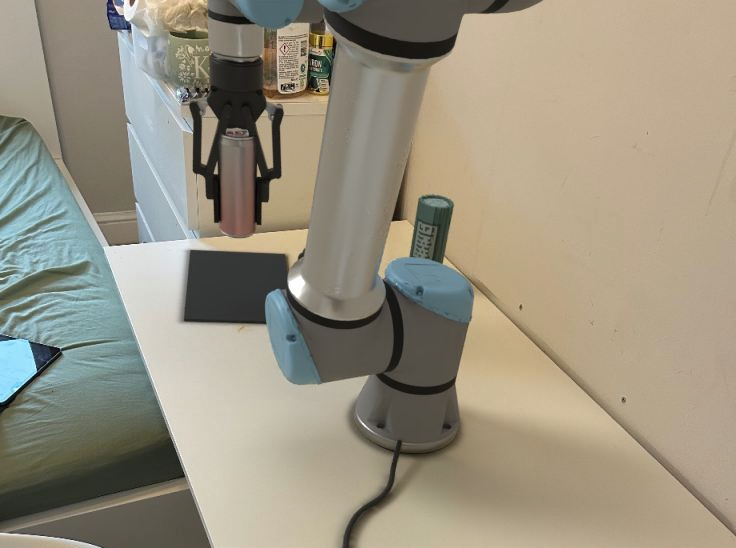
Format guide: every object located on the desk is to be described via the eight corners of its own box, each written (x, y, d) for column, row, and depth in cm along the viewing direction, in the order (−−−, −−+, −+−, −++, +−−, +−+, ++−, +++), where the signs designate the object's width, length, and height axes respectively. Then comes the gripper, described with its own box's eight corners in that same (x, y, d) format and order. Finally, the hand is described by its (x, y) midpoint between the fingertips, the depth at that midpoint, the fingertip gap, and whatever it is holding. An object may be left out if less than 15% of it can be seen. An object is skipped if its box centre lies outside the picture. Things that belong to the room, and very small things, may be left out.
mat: (292, 324, 125) (292, 322, 124) (183, 320, 122) (183, 318, 122) (284, 255, 143) (284, 253, 143) (190, 251, 140) (190, 249, 140)
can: (442, 278, 143) (458, 200, 132) (431, 290, 138) (446, 210, 128) (414, 269, 144) (427, 191, 134) (401, 281, 140) (414, 201, 130)
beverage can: (216, 224, 120) (213, 124, 110) (252, 223, 122) (253, 125, 111) (222, 240, 116) (220, 138, 106) (259, 239, 118) (261, 138, 107)
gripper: (303, 53, 106) (295, 214, 122) (167, 41, 103) (178, 208, 119) (306, 67, 100) (298, 233, 116) (164, 55, 97) (175, 227, 113)
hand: (237, 220), depth 117 cm, fingers closed on beverage can, 6 cm apart
